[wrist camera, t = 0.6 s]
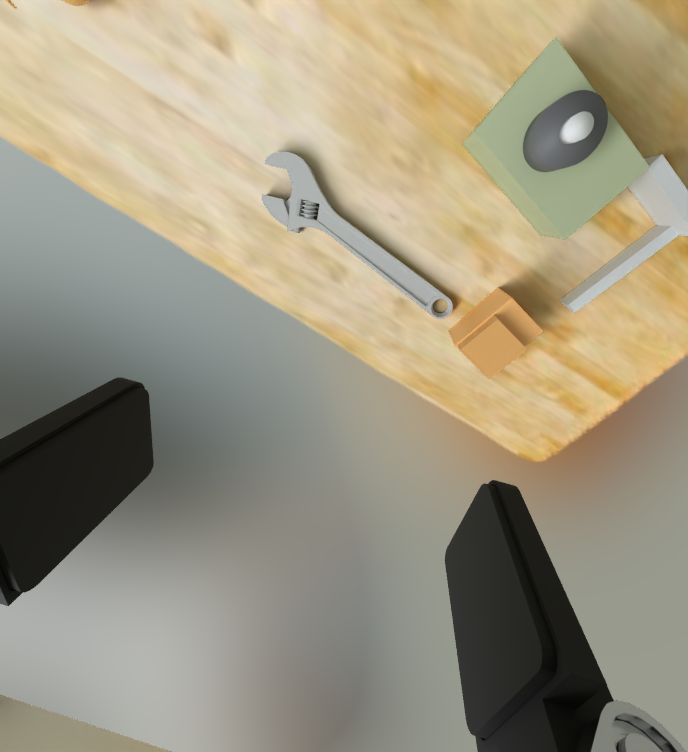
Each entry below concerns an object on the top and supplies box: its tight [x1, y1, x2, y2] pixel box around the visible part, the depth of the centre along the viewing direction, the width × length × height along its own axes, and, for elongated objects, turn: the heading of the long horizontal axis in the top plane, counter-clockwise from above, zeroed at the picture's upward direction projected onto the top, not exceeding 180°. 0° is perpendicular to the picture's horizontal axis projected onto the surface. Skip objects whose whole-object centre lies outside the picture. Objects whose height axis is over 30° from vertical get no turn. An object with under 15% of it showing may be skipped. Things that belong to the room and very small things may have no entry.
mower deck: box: [462, 37, 688, 312], centre depth 27 cm, size 20×11×10 cm, turn 49°
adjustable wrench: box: [262, 151, 453, 319], centre depth 36 cm, size 25×6×2 cm, turn 51°
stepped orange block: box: [448, 288, 543, 378], centre depth 35 cm, size 5×7×6 cm
